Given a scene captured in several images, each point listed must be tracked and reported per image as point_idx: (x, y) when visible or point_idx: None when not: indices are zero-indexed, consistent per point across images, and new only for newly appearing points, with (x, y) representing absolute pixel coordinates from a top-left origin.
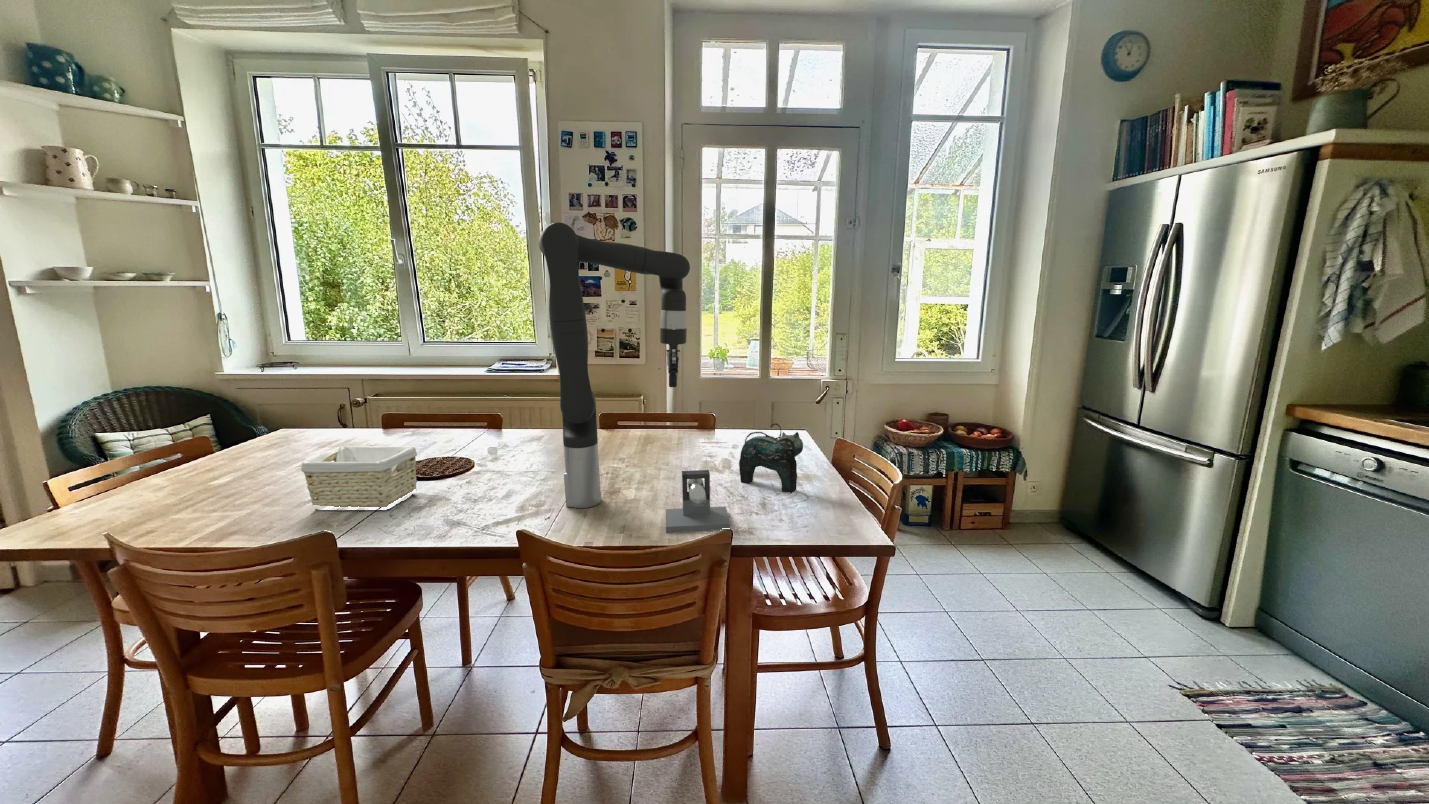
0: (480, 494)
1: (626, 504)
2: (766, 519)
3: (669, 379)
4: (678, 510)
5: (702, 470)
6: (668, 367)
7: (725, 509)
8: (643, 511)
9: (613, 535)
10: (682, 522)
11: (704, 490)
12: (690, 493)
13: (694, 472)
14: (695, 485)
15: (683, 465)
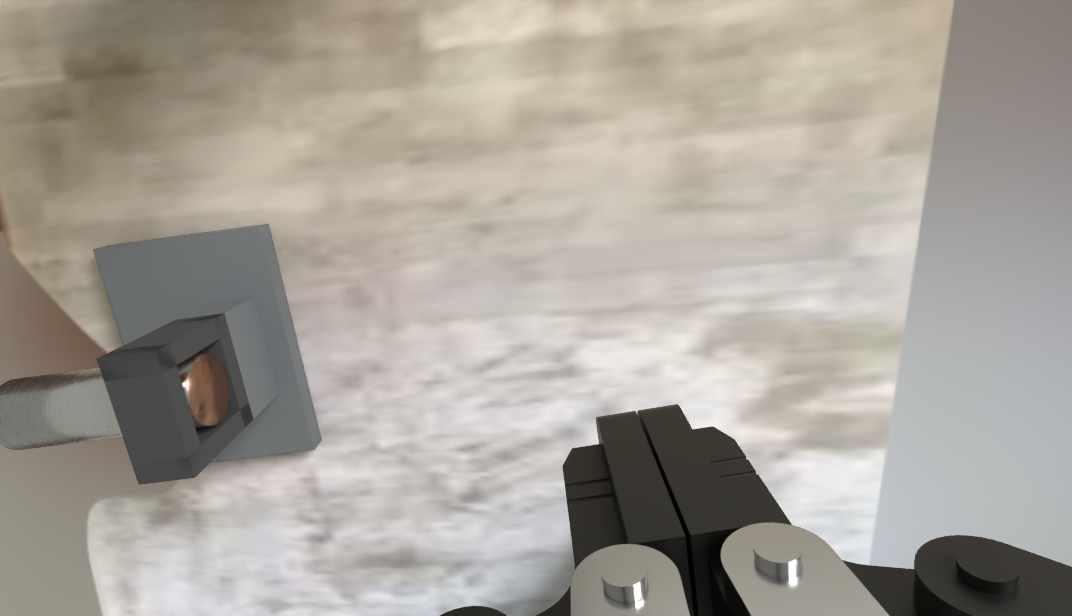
0: None
1: (355, 29)
2: (273, 565)
3: (615, 485)
4: (252, 279)
5: (180, 449)
6: (989, 603)
7: (285, 450)
8: (287, 124)
9: (41, 42)
10: (143, 306)
11: (74, 442)
12: (21, 388)
13: (144, 414)
14: (64, 413)
15: (877, 232)
